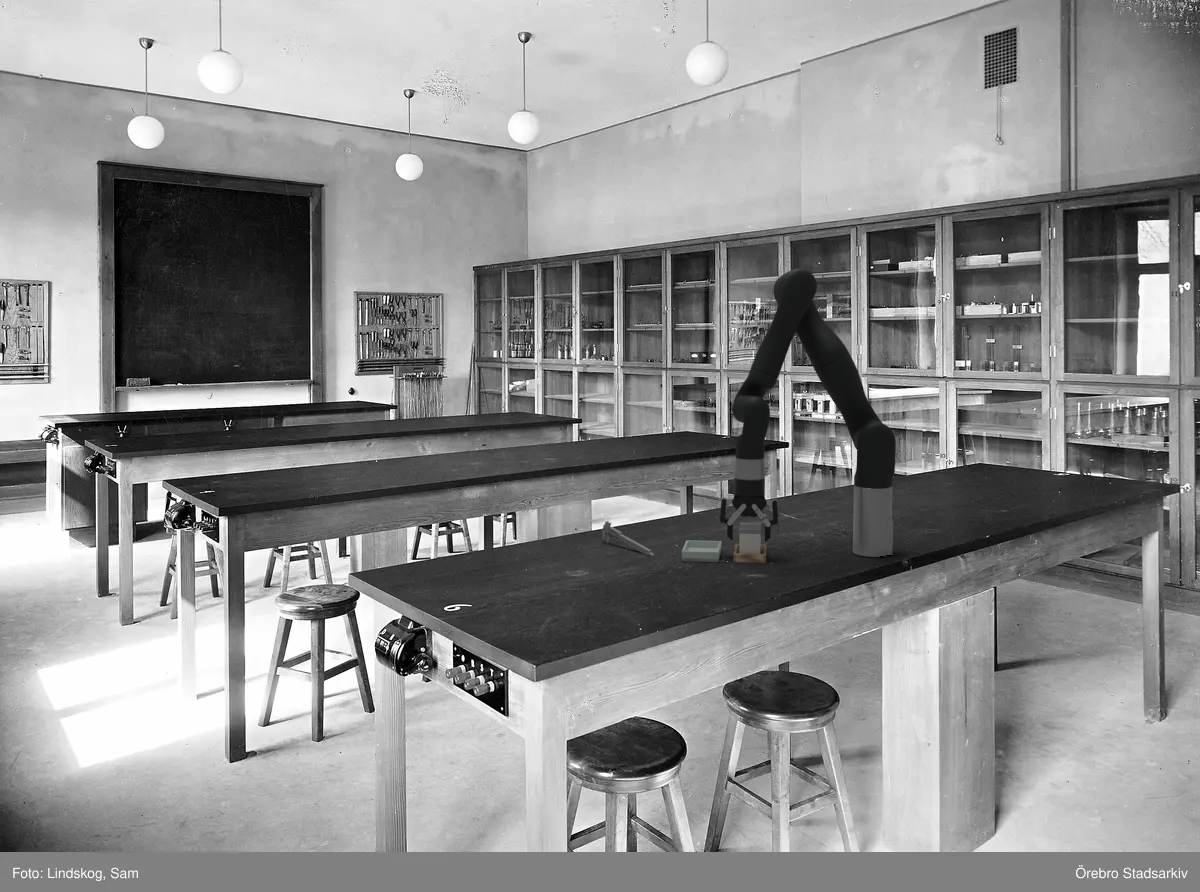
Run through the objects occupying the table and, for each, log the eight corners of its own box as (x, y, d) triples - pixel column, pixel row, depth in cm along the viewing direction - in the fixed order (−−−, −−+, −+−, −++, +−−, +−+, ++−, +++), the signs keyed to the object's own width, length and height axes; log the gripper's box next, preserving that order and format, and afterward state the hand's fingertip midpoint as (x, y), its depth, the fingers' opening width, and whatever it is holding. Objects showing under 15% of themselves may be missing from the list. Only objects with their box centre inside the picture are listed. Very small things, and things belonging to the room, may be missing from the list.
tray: (721, 550, 236) (721, 541, 236) (718, 562, 224) (718, 552, 224) (686, 549, 238) (686, 540, 237) (681, 561, 226) (681, 551, 226)
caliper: (602, 543, 248) (601, 520, 247) (605, 542, 249) (605, 520, 248) (651, 557, 232) (651, 533, 231) (654, 556, 233) (654, 532, 232)
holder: (766, 552, 233) (766, 544, 233) (765, 563, 223) (765, 555, 222) (735, 551, 235) (735, 543, 234) (733, 562, 224) (733, 554, 224)
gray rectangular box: (761, 553, 232) (761, 522, 231) (760, 561, 224) (760, 529, 223) (740, 553, 233) (740, 522, 232) (739, 561, 225) (739, 529, 224)
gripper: (779, 474, 229) (777, 538, 231) (721, 473, 231) (721, 535, 234) (778, 479, 221) (777, 544, 223) (719, 477, 224) (718, 542, 226)
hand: (748, 540), depth 228 cm, fingers open, 8 cm apart
